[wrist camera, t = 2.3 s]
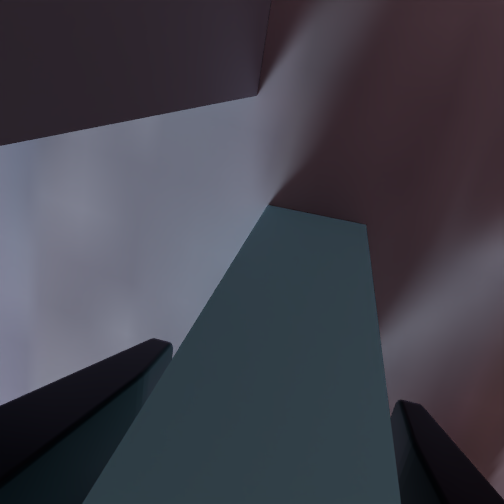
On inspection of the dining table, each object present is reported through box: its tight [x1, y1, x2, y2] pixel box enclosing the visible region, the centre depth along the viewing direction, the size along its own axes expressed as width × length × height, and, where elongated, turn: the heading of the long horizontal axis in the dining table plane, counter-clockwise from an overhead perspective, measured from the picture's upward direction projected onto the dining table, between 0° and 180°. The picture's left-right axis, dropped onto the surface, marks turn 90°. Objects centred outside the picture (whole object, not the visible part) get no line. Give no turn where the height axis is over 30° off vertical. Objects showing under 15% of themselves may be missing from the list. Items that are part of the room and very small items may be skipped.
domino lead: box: [82, 205, 401, 504], centre depth 8 cm, size 2×5×10 cm, turn 172°
